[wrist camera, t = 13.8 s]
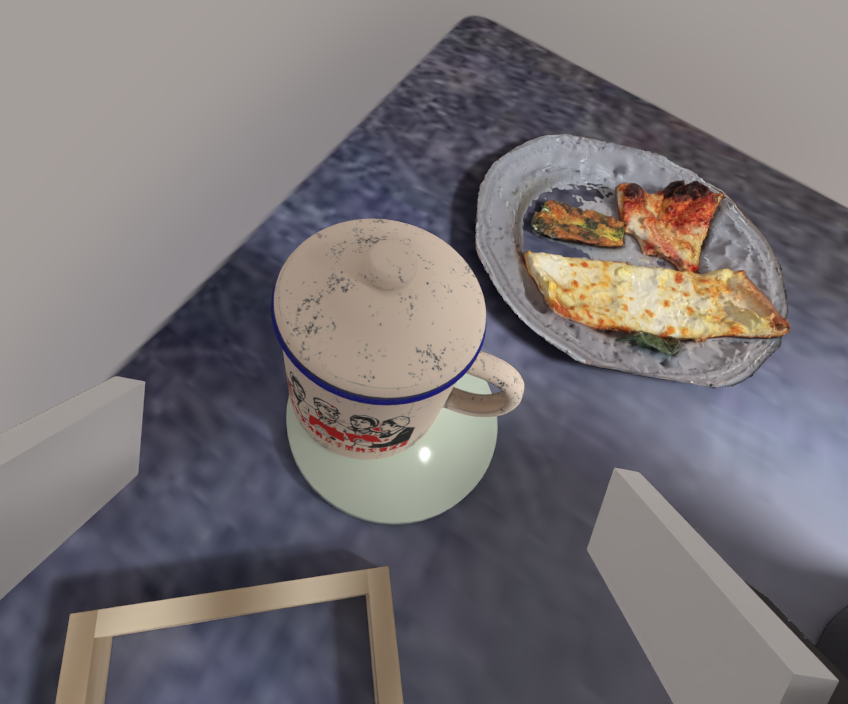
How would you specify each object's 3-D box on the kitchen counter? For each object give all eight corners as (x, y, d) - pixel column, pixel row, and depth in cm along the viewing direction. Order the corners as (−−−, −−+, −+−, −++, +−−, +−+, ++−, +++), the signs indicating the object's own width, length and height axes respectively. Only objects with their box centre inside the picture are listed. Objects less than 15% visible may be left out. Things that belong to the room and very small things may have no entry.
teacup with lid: (254, 428, 25) (210, 302, 15) (327, 300, 30) (329, 140, 20) (465, 512, 25) (559, 441, 15) (506, 371, 30) (598, 245, 20)
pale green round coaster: (470, 327, 32) (474, 319, 32) (513, 510, 27) (519, 506, 26) (285, 333, 30) (284, 325, 29) (289, 540, 24) (288, 537, 23)
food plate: (734, 189, 46) (762, 158, 42) (805, 419, 34) (851, 399, 31) (476, 136, 43) (486, 100, 40) (459, 362, 32) (472, 335, 29)
